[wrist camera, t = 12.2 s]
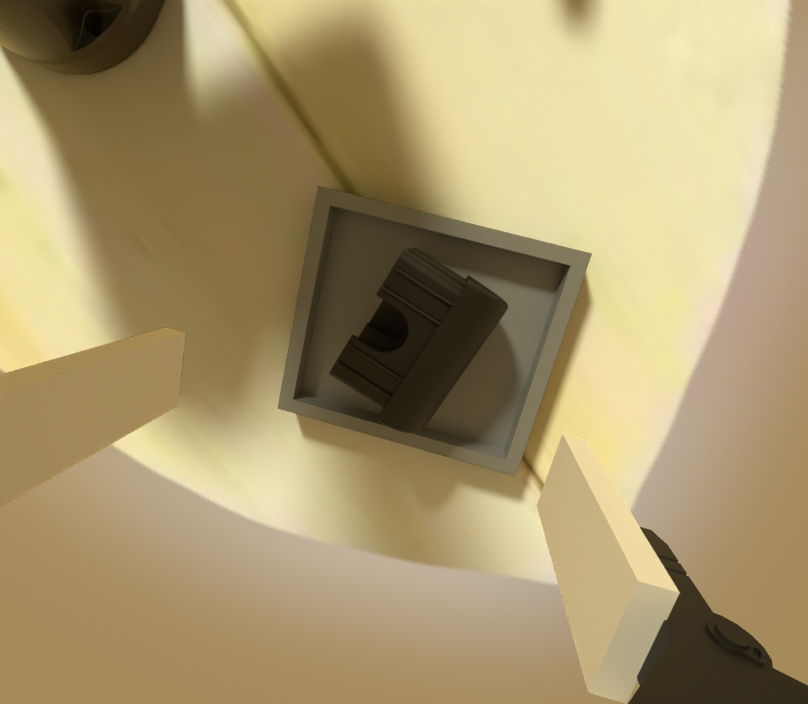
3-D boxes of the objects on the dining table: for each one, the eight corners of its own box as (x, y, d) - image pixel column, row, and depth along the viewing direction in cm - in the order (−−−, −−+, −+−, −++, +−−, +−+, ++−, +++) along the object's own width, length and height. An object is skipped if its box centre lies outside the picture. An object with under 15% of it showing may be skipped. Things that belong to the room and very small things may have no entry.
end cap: (427, 410, 34) (418, 449, 27) (347, 359, 34) (319, 386, 27) (505, 298, 31) (515, 311, 25) (419, 242, 31) (406, 241, 25)
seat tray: (290, 397, 36) (277, 408, 34) (329, 190, 32) (318, 186, 30) (512, 459, 35) (515, 476, 32) (581, 252, 31) (591, 253, 28)
